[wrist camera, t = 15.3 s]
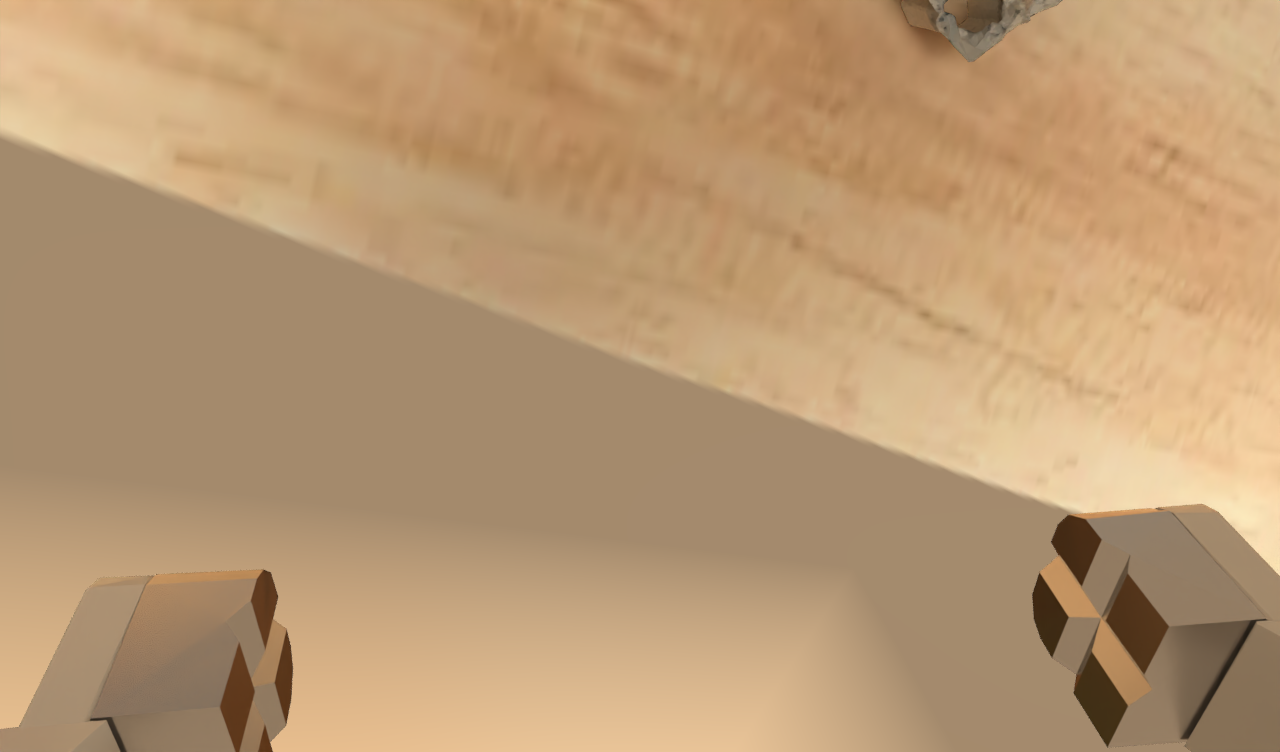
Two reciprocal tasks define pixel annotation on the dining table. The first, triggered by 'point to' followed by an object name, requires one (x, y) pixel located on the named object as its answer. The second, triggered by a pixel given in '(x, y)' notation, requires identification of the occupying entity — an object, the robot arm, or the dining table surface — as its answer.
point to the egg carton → (974, 21)
